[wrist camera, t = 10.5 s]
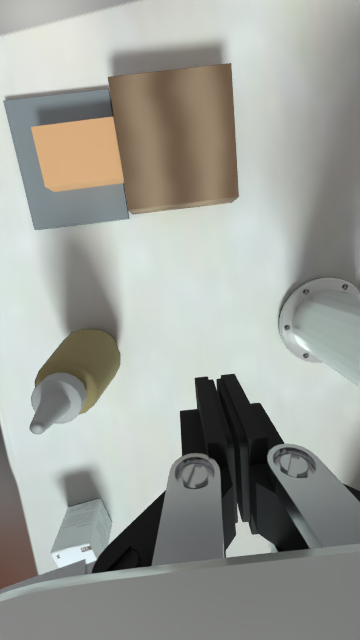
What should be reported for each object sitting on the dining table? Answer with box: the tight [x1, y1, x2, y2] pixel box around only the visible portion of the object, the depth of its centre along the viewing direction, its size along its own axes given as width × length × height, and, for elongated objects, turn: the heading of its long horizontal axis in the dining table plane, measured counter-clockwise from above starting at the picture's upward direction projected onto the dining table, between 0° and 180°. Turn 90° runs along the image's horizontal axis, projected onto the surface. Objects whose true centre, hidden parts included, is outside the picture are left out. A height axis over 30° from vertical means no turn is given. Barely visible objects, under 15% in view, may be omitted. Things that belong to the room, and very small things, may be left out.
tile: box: [31, 117, 124, 192], centre depth 30 cm, size 9×6×2 cm, turn 97°
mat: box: [3, 89, 129, 230], centre depth 32 cm, size 12×14×1 cm
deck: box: [108, 63, 239, 214], centre depth 31 cm, size 13×13×4 cm
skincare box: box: [51, 498, 112, 568], centre depth 42 cm, size 6×6×7 cm
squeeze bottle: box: [30, 329, 120, 434], centre depth 29 cm, size 8×8×18 cm
